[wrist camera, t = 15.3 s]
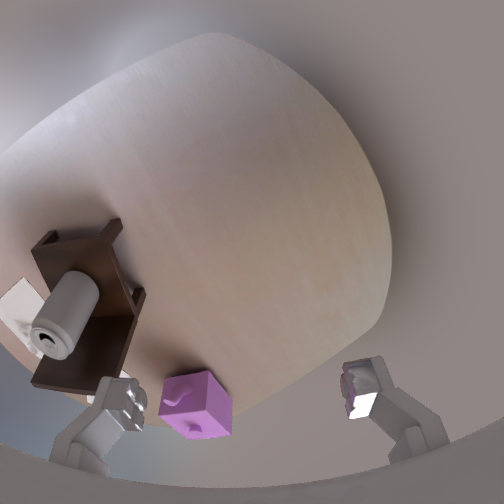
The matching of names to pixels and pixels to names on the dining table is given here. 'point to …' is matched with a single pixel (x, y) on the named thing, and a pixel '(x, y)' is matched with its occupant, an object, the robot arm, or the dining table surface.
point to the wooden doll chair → (101, 319)
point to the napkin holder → (122, 375)
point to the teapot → (196, 406)
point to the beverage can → (64, 315)
